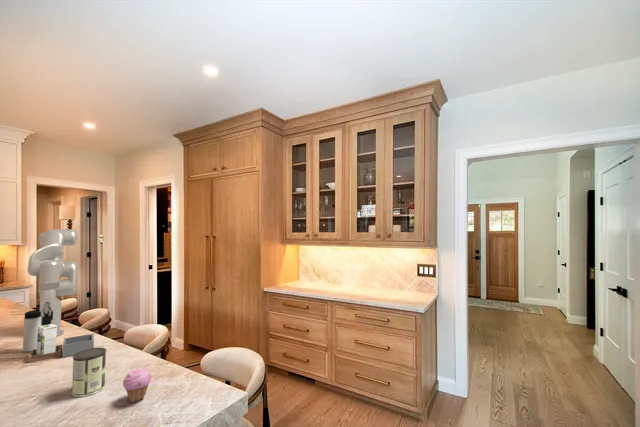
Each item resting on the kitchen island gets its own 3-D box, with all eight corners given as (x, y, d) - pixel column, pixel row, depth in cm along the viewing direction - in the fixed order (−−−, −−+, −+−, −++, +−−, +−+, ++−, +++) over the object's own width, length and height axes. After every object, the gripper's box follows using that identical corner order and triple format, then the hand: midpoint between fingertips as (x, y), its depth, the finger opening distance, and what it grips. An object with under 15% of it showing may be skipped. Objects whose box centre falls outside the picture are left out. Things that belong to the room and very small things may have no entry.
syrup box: (35, 357, 148) (36, 326, 149) (50, 352, 153) (51, 323, 154) (40, 359, 145) (42, 328, 146) (56, 355, 151) (57, 324, 151)
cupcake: (119, 398, 112) (120, 370, 112) (146, 389, 118) (147, 363, 118) (126, 408, 106) (127, 378, 106) (153, 399, 112) (154, 370, 112)
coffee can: (87, 382, 123) (88, 346, 124) (111, 384, 122) (112, 347, 123) (63, 396, 113) (65, 357, 114) (89, 398, 112) (91, 358, 113)
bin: (63, 350, 156) (64, 338, 157) (93, 345, 164) (93, 333, 164) (62, 358, 147) (62, 345, 147) (93, 352, 154) (93, 340, 154)
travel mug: (43, 348, 159) (45, 309, 160) (30, 353, 152) (32, 312, 153) (32, 348, 159) (34, 308, 161) (18, 353, 153) (21, 312, 154)
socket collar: (31, 355, 151) (31, 349, 151) (62, 349, 157) (62, 344, 158) (27, 363, 141) (27, 357, 141) (60, 357, 148) (60, 351, 148)
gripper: (41, 285, 156) (39, 320, 154) (36, 289, 142) (34, 328, 141) (60, 283, 160) (58, 317, 159) (57, 288, 146) (56, 325, 145)
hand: (47, 322), depth 150 cm, fingers open, 9 cm apart
